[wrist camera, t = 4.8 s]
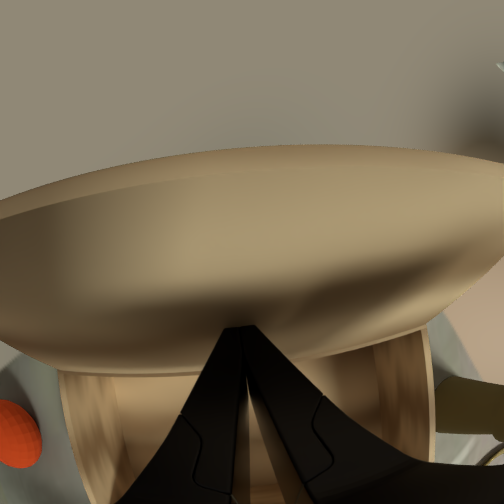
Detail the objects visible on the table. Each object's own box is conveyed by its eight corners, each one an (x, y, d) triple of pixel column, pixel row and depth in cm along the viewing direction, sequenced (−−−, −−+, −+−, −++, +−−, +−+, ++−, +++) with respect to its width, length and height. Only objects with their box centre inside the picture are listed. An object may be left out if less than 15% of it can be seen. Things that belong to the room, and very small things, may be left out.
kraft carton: (385, 453, 17) (432, 480, 10) (135, 487, 15) (101, 527, 8) (372, 331, 21) (425, 319, 14) (109, 363, 19) (56, 365, 12)
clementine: (31, 467, 13) (-9, 482, 7) (-1, 413, 15) (-43, 416, 8) (66, 448, 15) (21, 467, 9) (29, 386, 17) (-20, 388, 10)
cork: (463, 423, 17) (539, 432, 7) (423, 439, 17) (504, 463, 7) (468, 371, 19) (549, 363, 9) (429, 382, 19) (519, 383, 9)
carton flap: (557, 188, 4) (549, 177, 4) (-99, 261, 2) (-94, 247, 2) (423, 325, 13) (420, 317, 13) (60, 370, 11) (60, 361, 11)
